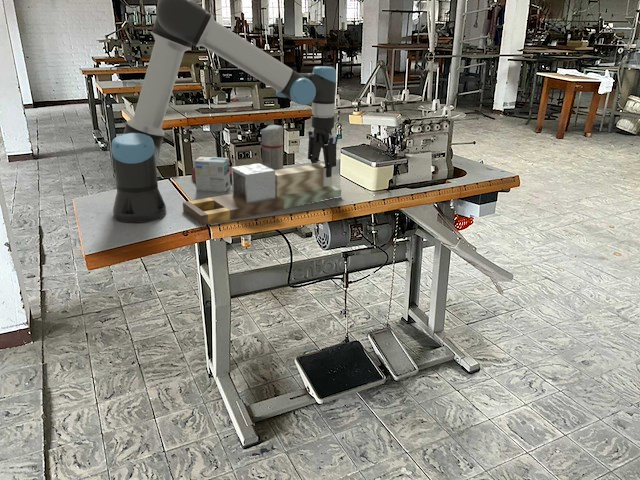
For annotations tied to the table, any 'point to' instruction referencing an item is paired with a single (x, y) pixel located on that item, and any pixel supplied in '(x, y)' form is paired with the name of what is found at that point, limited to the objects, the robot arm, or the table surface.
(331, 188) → the deck
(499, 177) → the table surface
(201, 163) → the light bulb box
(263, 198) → the matte grey cube
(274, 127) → the spray can
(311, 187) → the maple beam
